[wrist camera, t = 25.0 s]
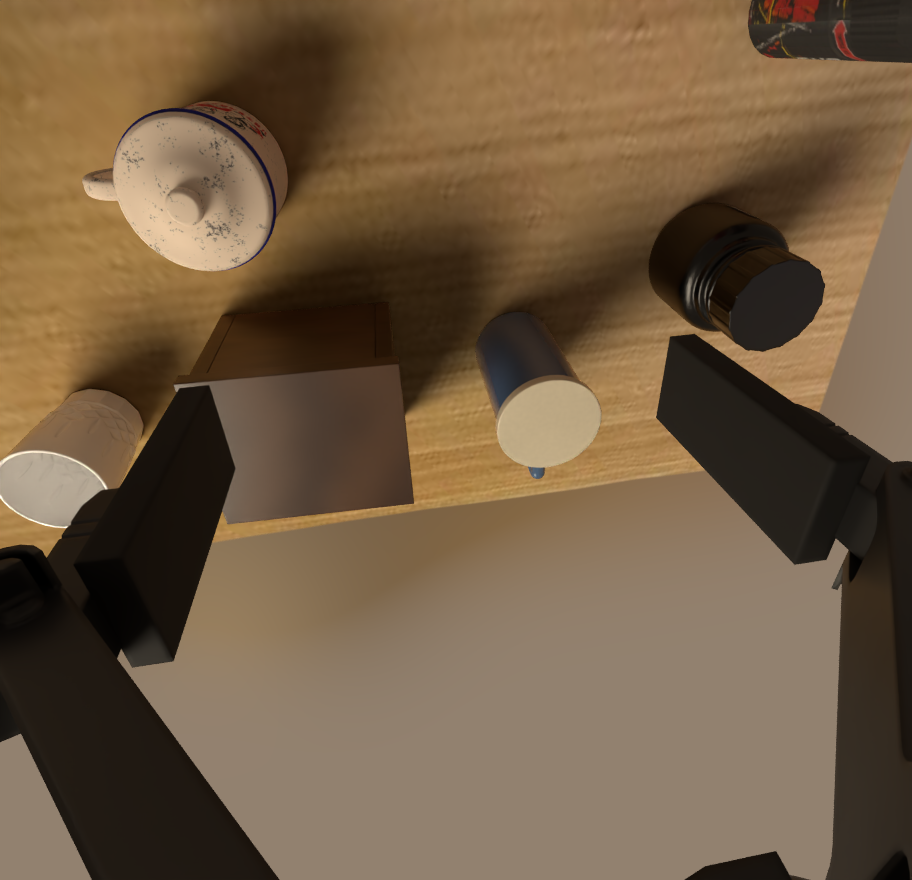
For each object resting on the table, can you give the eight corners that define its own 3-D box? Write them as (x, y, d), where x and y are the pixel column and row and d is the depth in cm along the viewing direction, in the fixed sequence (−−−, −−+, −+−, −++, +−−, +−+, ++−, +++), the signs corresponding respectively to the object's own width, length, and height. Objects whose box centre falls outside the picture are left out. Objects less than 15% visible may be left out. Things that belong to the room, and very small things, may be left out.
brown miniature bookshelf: (253, 435, 53) (227, 524, 44) (215, 311, 46) (172, 384, 36) (406, 420, 55) (414, 503, 45) (393, 296, 47) (398, 363, 37)
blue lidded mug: (472, 414, 55) (496, 501, 45) (470, 311, 49) (497, 385, 38) (549, 406, 56) (591, 490, 45) (557, 304, 49) (608, 374, 39)
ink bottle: (735, 297, 51) (821, 356, 41) (643, 315, 51) (706, 379, 41) (753, 185, 45) (857, 224, 36) (649, 206, 45) (724, 251, 36)
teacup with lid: (282, 98, 38) (252, 116, 28) (299, 234, 43) (279, 287, 34) (95, 92, 36) (-1, 110, 27) (137, 234, 42) (69, 290, 32)
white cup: (88, 462, 53) (38, 538, 45) (34, 394, 48) (-34, 465, 40) (167, 442, 53) (130, 514, 45) (120, 372, 48) (69, 439, 40)
